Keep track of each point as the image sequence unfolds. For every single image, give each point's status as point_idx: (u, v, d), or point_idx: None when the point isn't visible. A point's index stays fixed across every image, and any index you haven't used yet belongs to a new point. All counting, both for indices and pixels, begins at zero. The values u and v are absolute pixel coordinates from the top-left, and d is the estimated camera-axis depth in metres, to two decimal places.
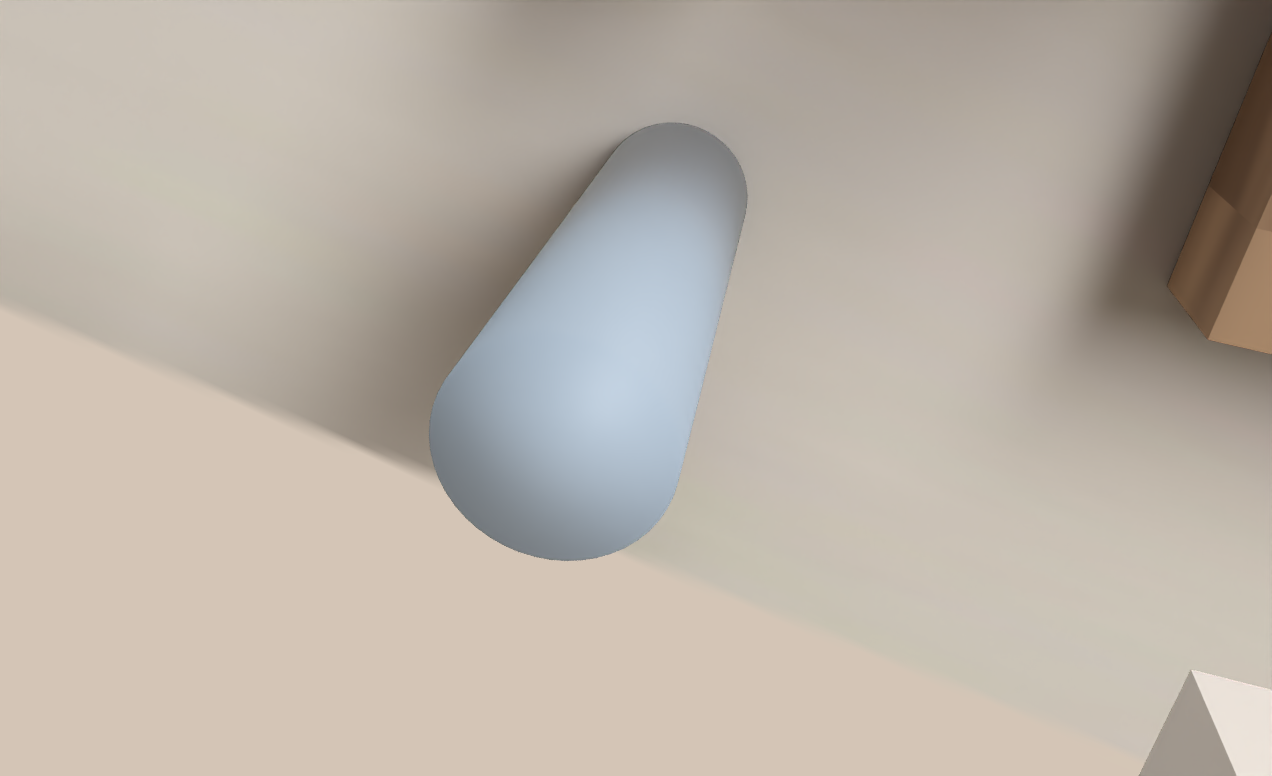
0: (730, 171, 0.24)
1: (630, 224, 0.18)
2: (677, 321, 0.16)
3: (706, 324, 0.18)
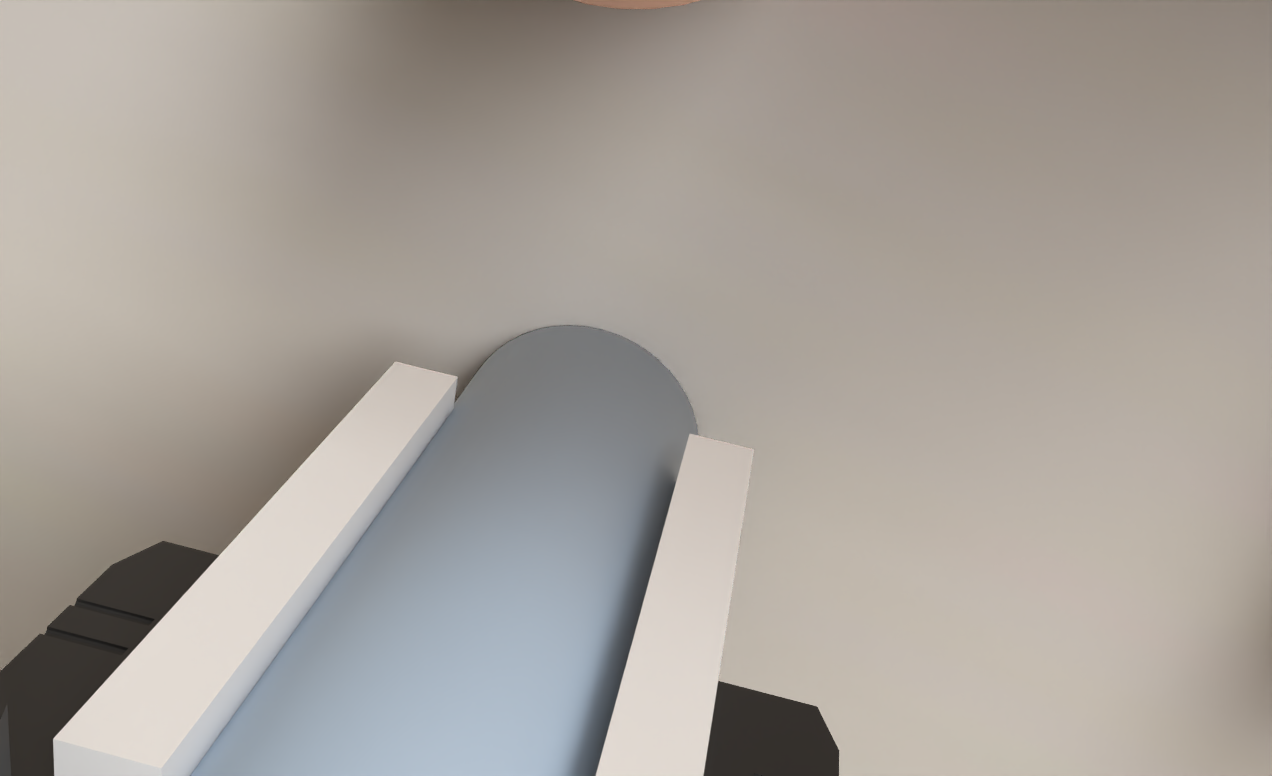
0: (665, 423, 0.14)
1: (398, 700, 0.08)
2: None
3: None
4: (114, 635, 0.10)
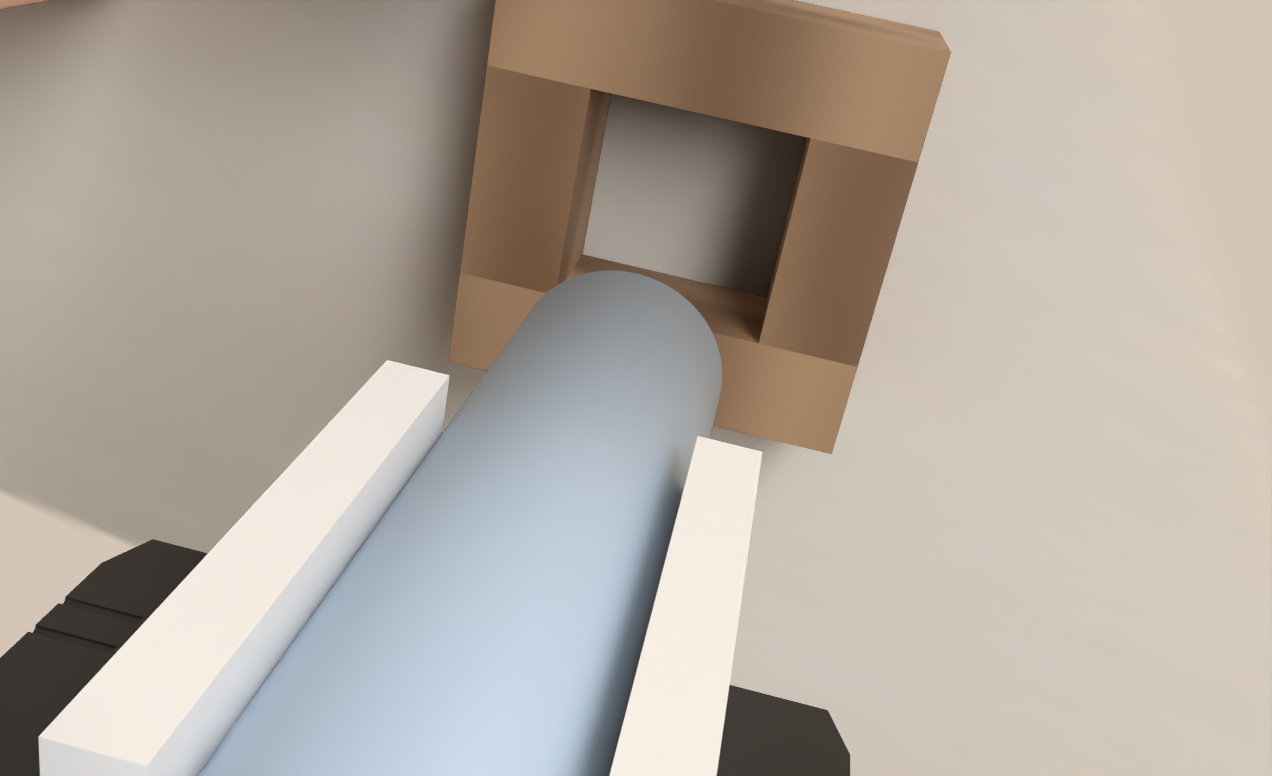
0: (695, 351, 0.16)
1: (499, 528, 0.11)
2: None
3: None
4: (102, 633, 0.10)
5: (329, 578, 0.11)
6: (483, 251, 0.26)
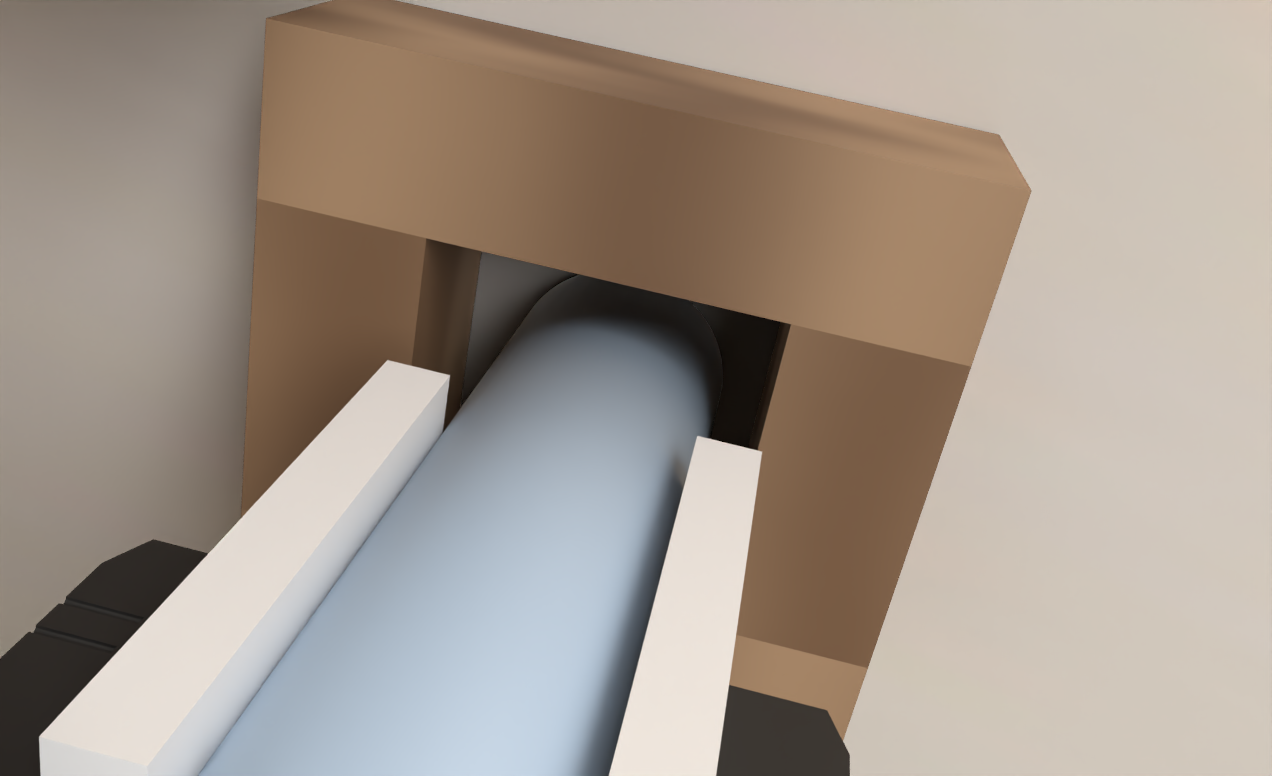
0: (696, 351, 0.16)
1: (499, 531, 0.11)
2: None
3: None
4: (103, 633, 0.10)
5: (329, 578, 0.11)
6: (274, 479, 0.16)
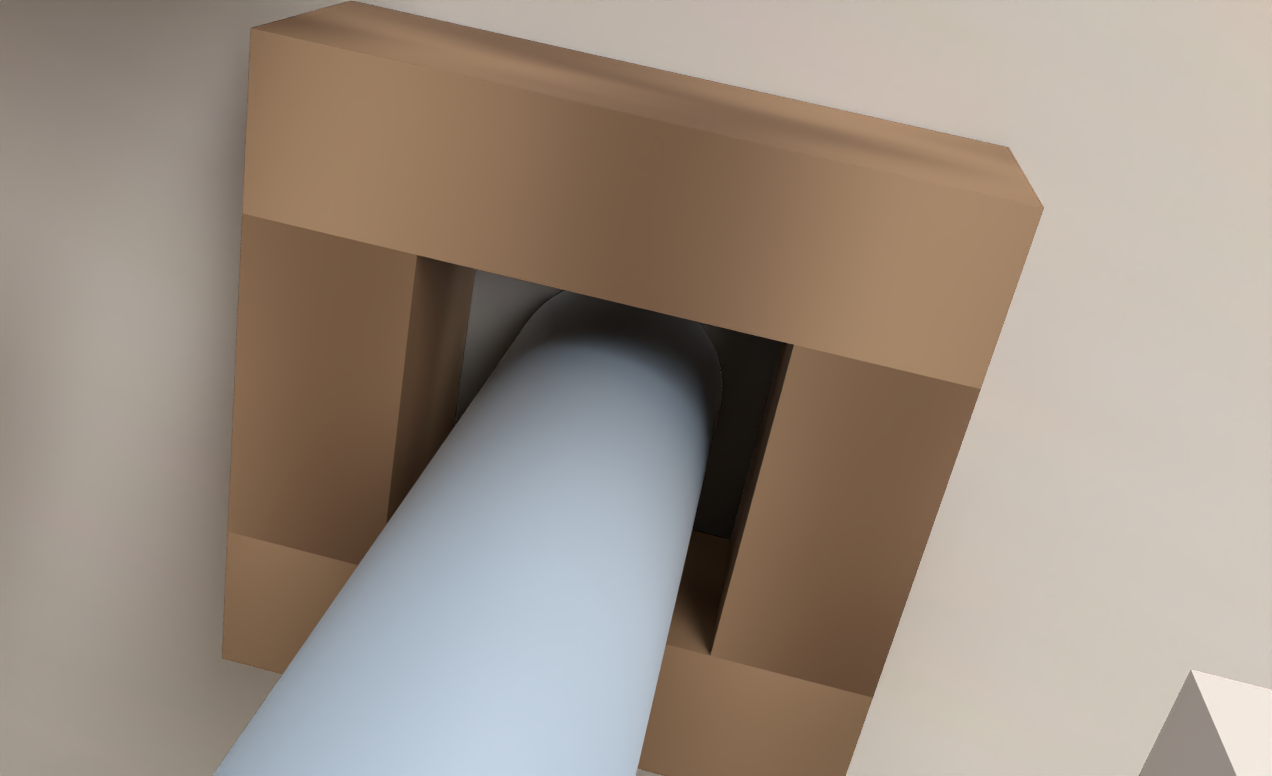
0: (695, 364, 0.16)
1: (496, 555, 0.10)
2: None
3: (623, 756, 0.10)
4: None
5: None
6: (261, 501, 0.16)
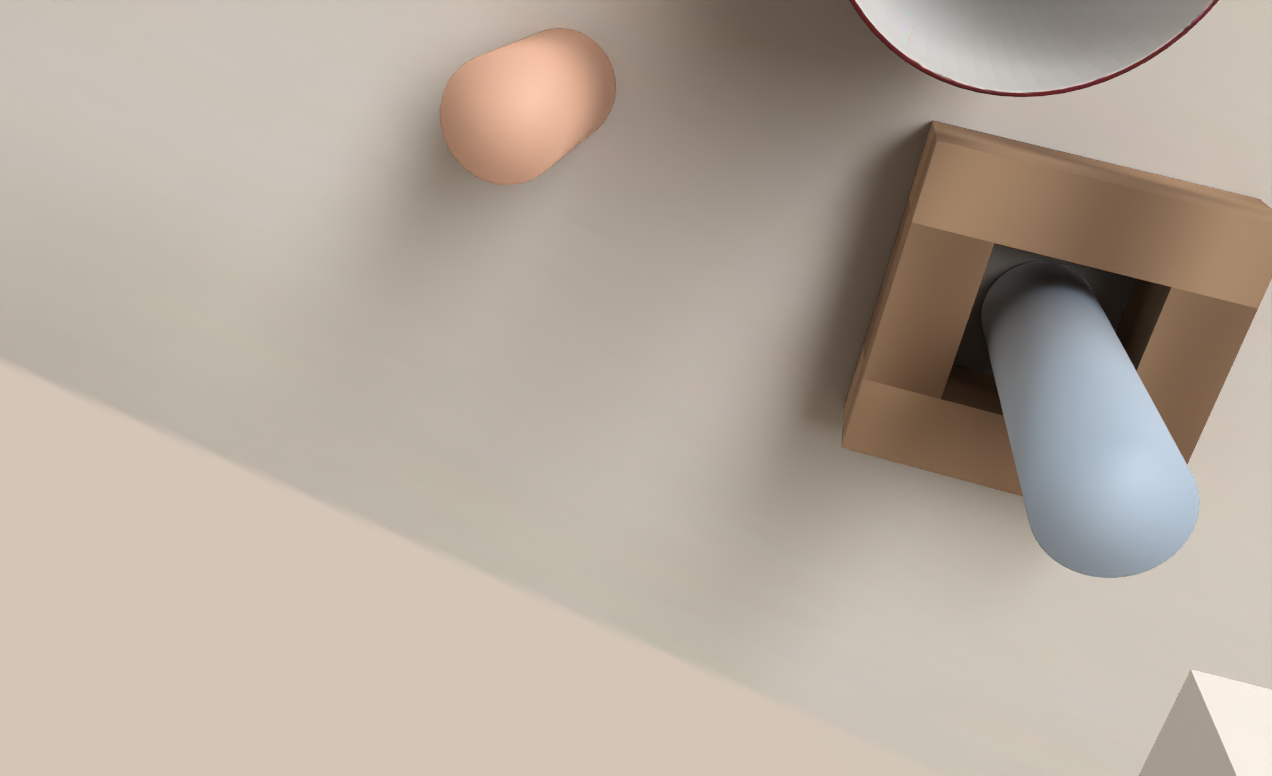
0: None
1: (1100, 353, 0.27)
2: (1165, 426, 0.25)
3: None
4: None
5: None
6: (885, 363, 0.33)
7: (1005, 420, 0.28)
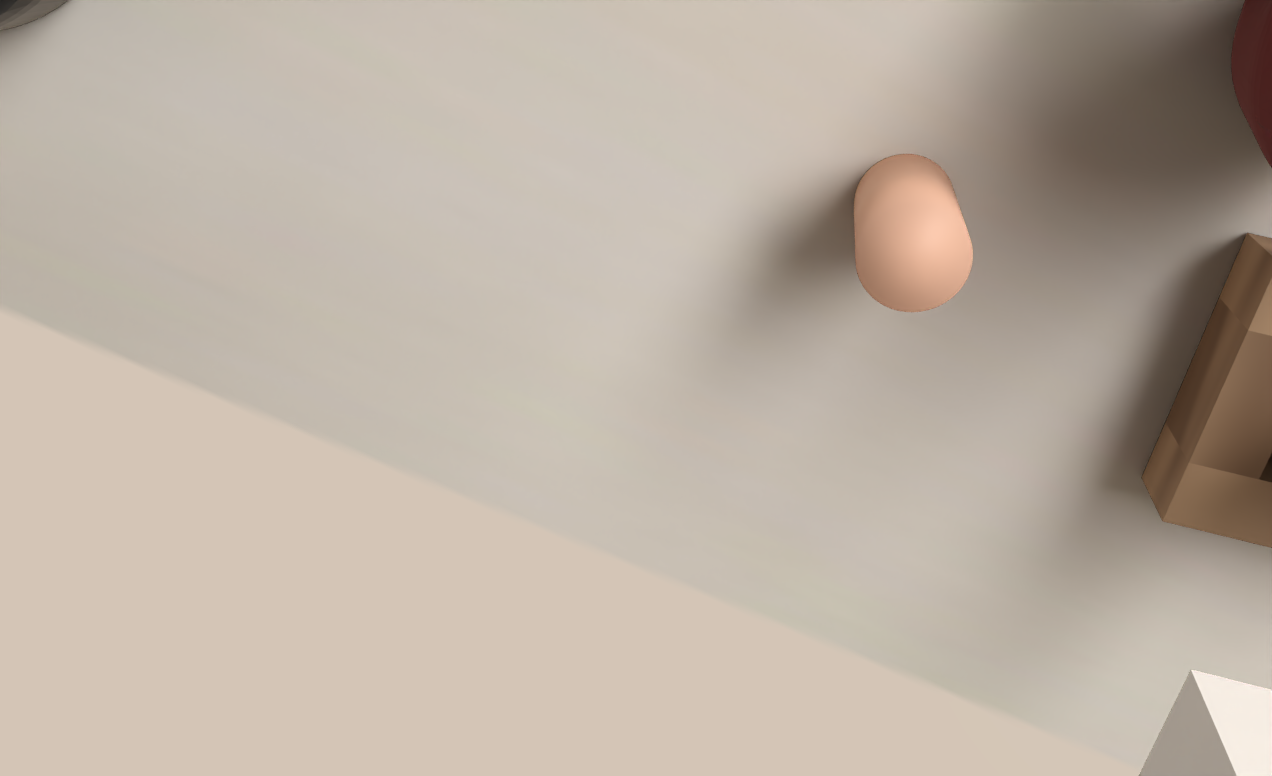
0: None
1: None
2: None
3: None
4: None
5: None
6: (1211, 449, 0.37)
7: None
